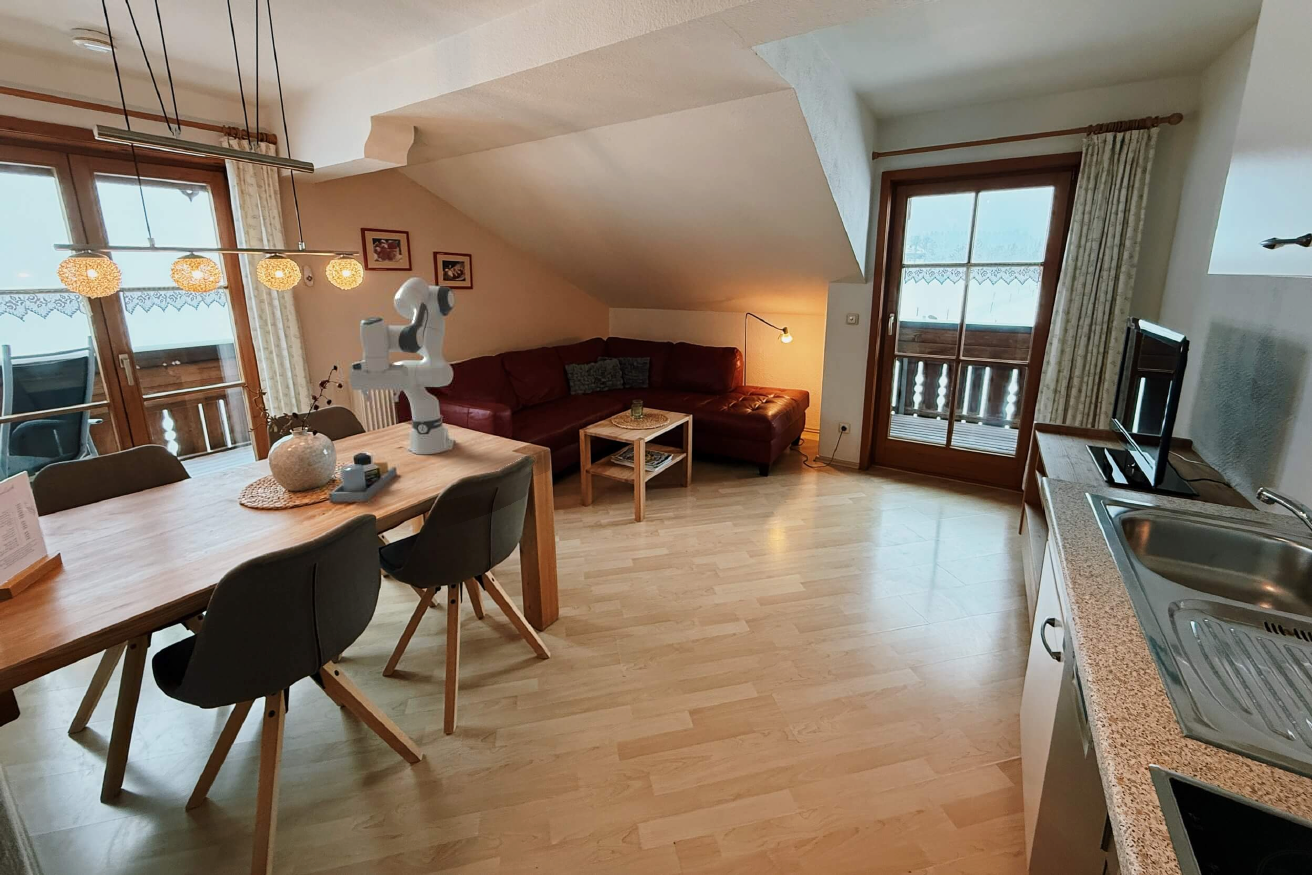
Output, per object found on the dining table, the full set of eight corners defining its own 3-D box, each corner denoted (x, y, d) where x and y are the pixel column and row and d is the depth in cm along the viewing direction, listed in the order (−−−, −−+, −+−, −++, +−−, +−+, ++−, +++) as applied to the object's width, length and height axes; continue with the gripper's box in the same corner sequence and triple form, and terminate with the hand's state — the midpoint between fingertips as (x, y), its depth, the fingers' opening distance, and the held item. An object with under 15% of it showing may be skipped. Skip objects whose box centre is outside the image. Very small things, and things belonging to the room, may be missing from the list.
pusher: (363, 476, 214) (361, 461, 212) (389, 476, 214) (387, 461, 212) (362, 478, 212) (359, 462, 211) (387, 477, 213) (385, 462, 211)
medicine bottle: (362, 490, 201) (357, 458, 198) (352, 486, 205) (347, 454, 202) (382, 485, 207) (377, 453, 203) (371, 480, 211) (367, 449, 207)
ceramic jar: (350, 491, 201) (346, 464, 198) (370, 491, 201) (366, 464, 198) (340, 499, 194) (336, 471, 191) (362, 499, 194) (358, 471, 192)
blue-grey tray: (363, 477, 217) (362, 467, 216) (397, 476, 218) (395, 466, 217) (330, 504, 192) (328, 493, 191) (368, 504, 193) (366, 493, 192)
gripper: (410, 362, 210) (414, 399, 214) (352, 362, 209) (358, 399, 213) (404, 365, 204) (408, 403, 208) (344, 365, 203) (350, 403, 207)
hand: (382, 401), depth 210 cm, fingers open, 8 cm apart
